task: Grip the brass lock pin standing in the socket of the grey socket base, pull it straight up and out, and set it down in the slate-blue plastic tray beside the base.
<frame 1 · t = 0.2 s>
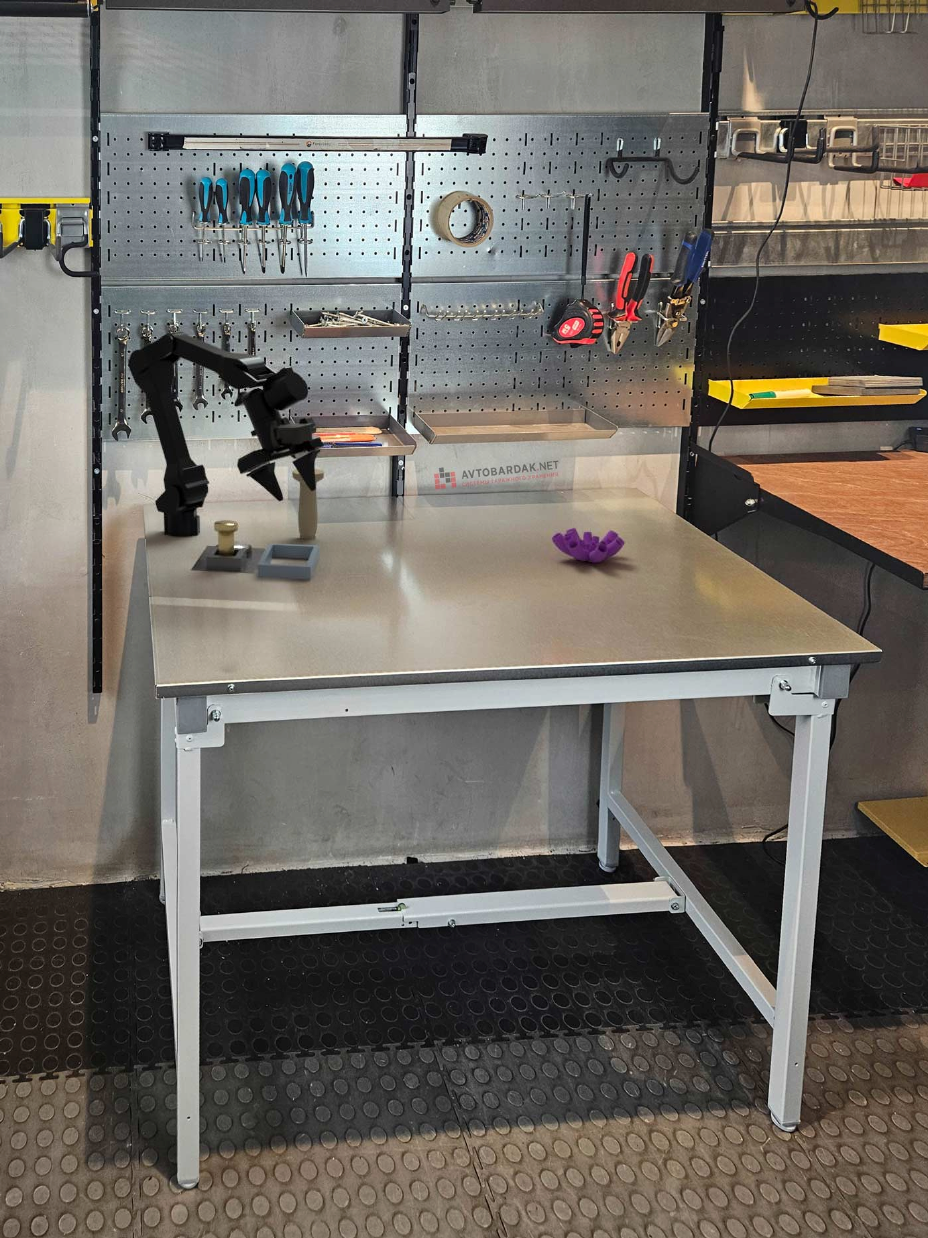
hand: (297, 495, 251), 15 cm above the workbench, fingers open, 9 cm apart
handle: (307, 542, 273), on the workbench
grey socket base: (229, 564, 256), on the workbench
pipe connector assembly: (586, 562, 270), on the workbench
pin tray: (289, 572, 253), on the workbench
lock pin: (226, 564, 252), point 1 cm above the workbench, touching grey socket base
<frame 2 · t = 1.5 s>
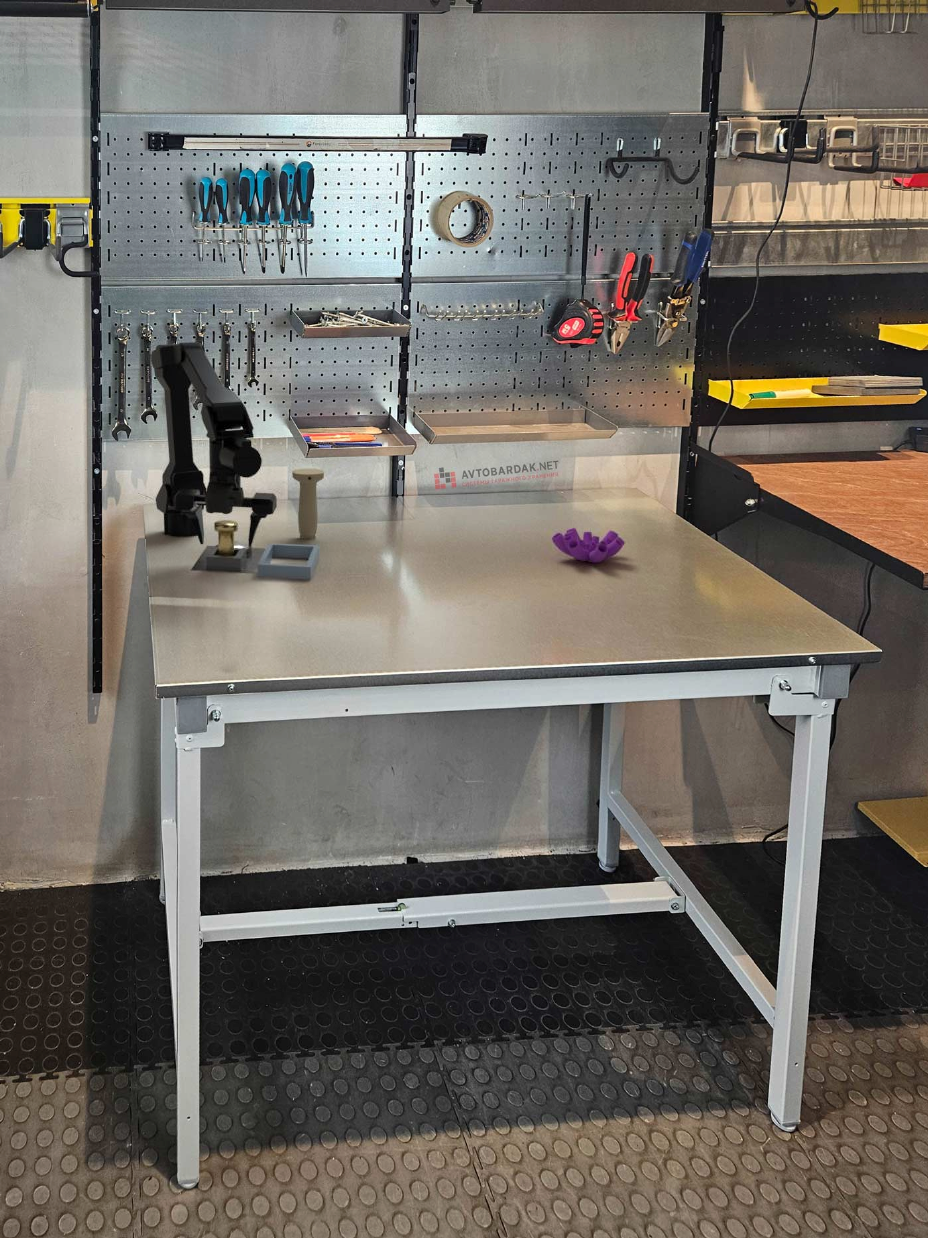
hand: (226, 545, 251), 5 cm above the workbench, fingers open, 9 cm apart
nothing on the workbench moved.
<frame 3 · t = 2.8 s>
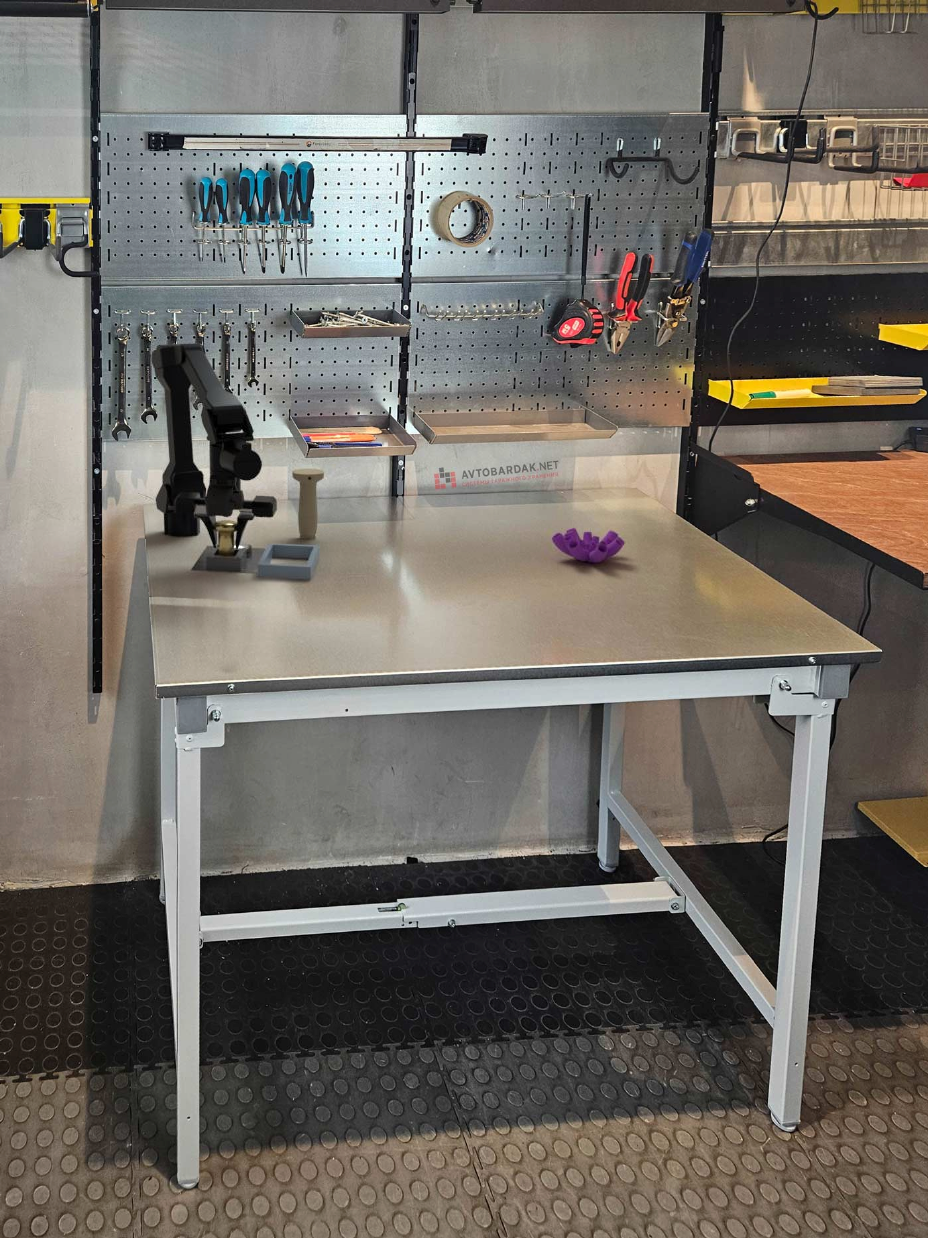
hand: (226, 547, 251), 5 cm above the workbench, fingers closed on lock pin, 4 cm apart
lock pin: (226, 564, 252), point 1 cm above the workbench, touching gripper, grey socket base
everything else where it was.
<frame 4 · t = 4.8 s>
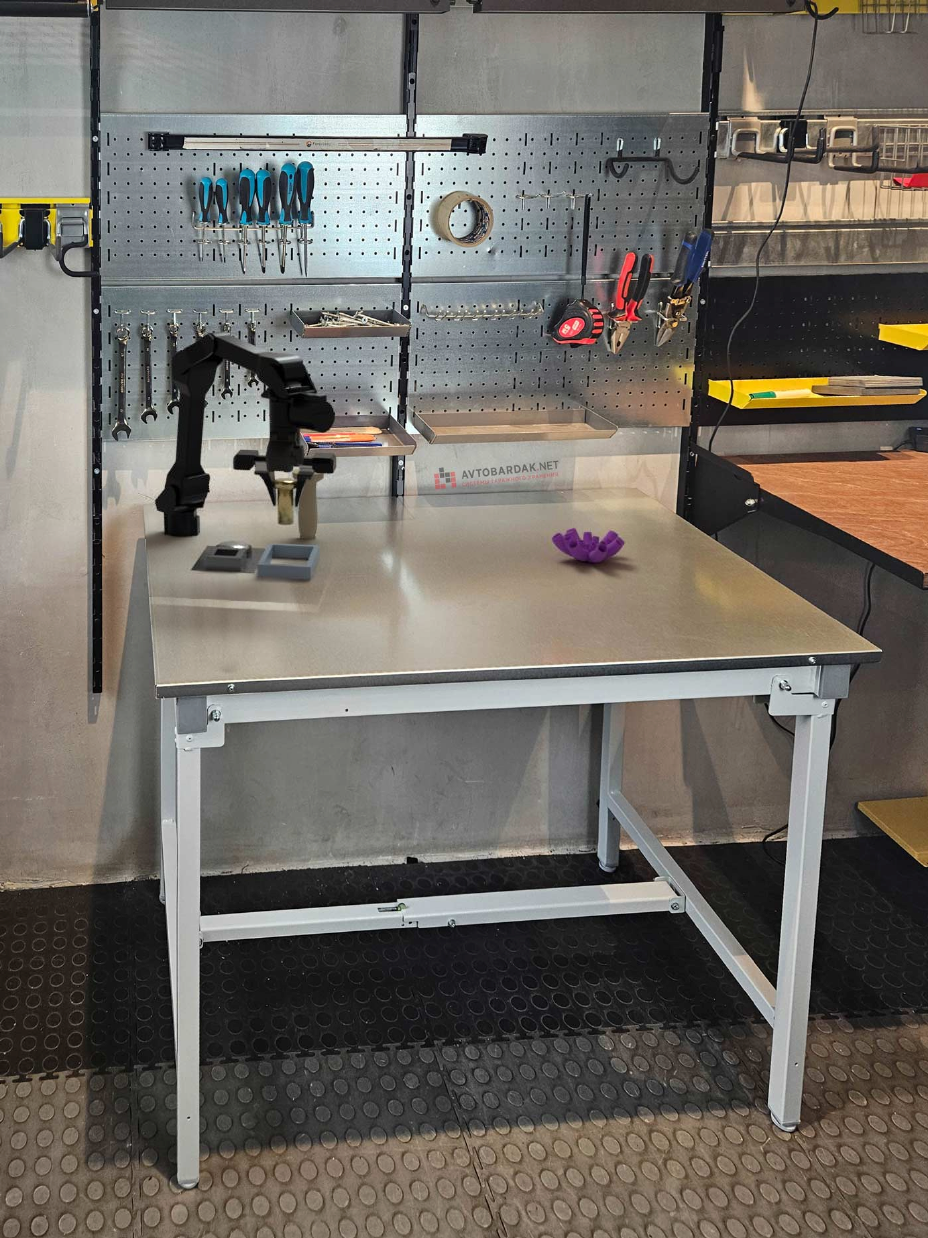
hand: (285, 506, 248), 13 cm above the workbench, fingers closed on lock pin, 4 cm apart
lock pin: (285, 522, 249), point 10 cm above the workbench, touching gripper
everything else where it was.
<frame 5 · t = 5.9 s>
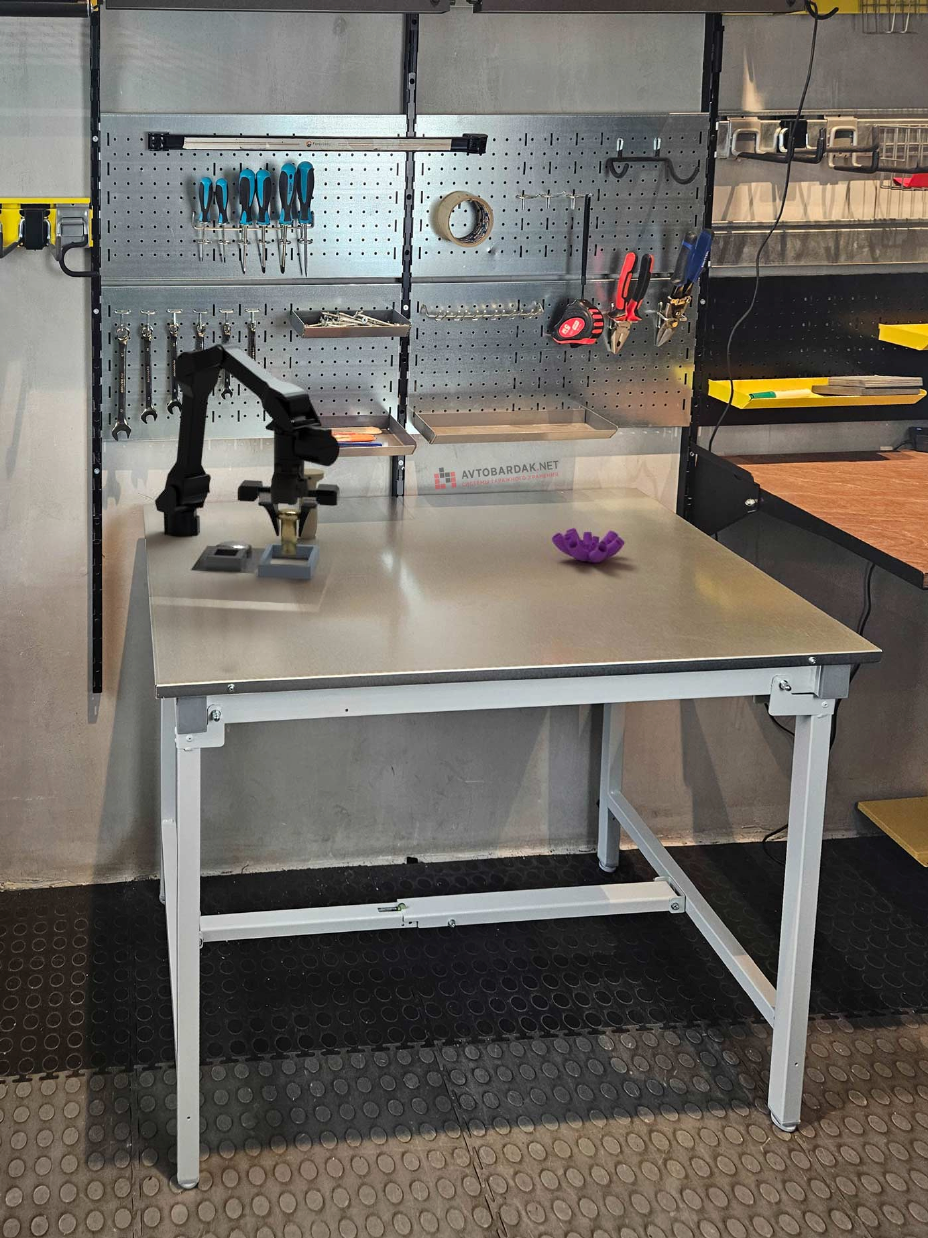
hand: (288, 536, 251), 7 cm above the workbench, fingers closed on lock pin, 4 cm apart
lock pin: (288, 552, 252), point 4 cm above the workbench, touching gripper
everything else where it was.
when the fingers open (6 cm above the workbench, at t = 6.9 s): lock pin drops 1 cm, resting on pin tray.
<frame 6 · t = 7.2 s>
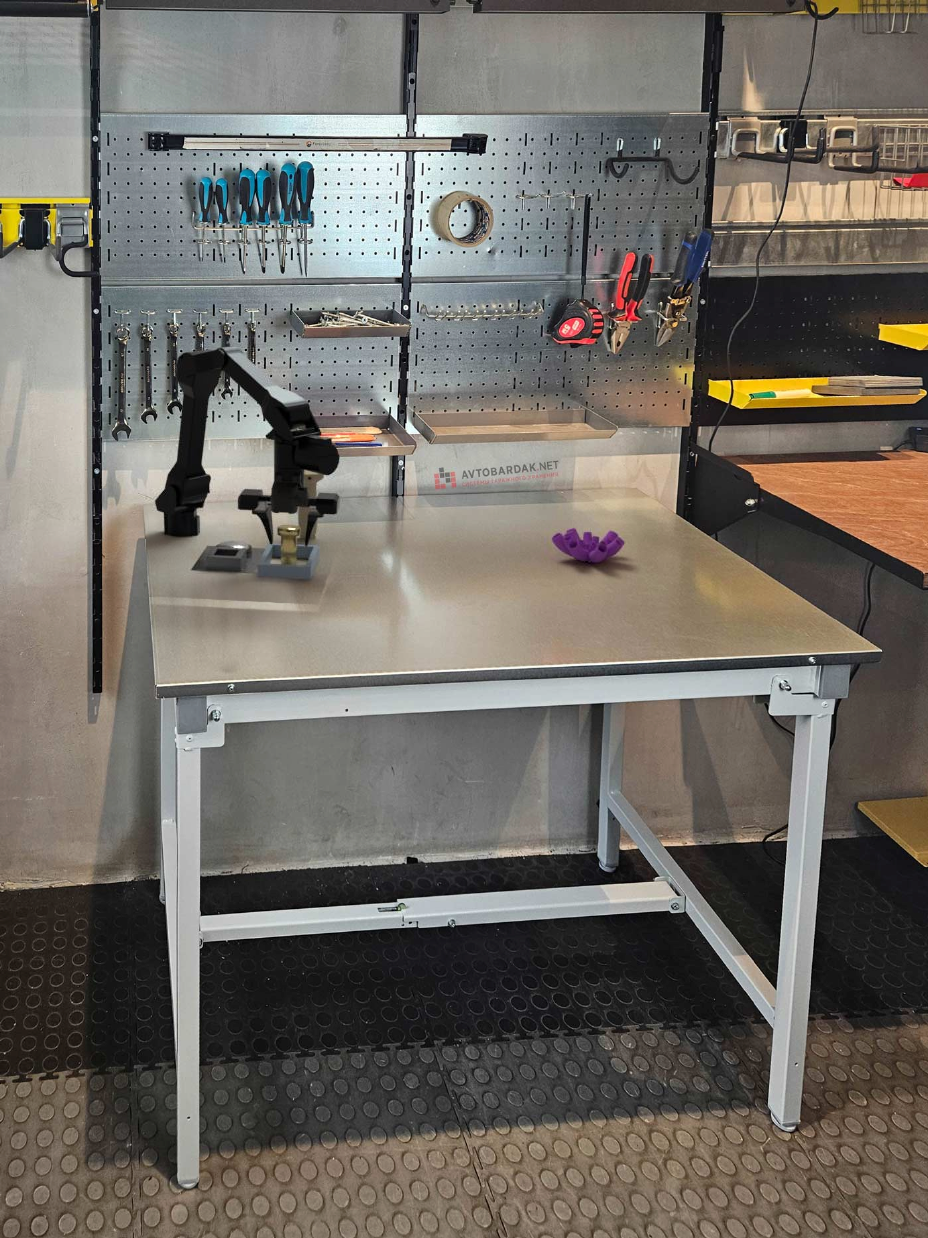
hand: (289, 544, 251), 6 cm above the workbench, fingers open, 6 cm apart
lock pin: (288, 568, 253), point 1 cm above the workbench, touching pin tray
everything else where it was.
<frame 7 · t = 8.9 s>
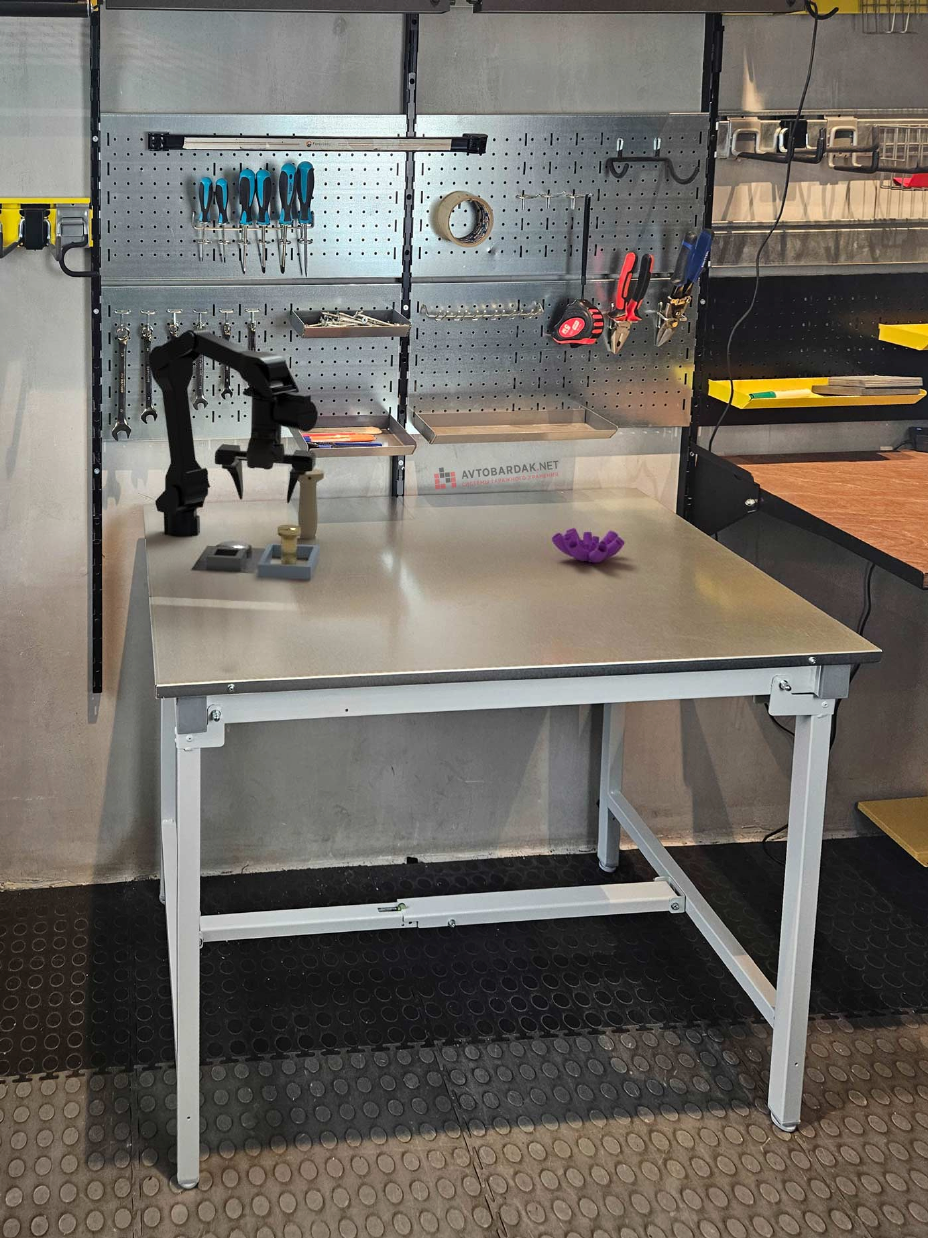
hand: (264, 500, 255), 12 cm above the workbench, fingers open, 9 cm apart
nothing on the workbench moved.
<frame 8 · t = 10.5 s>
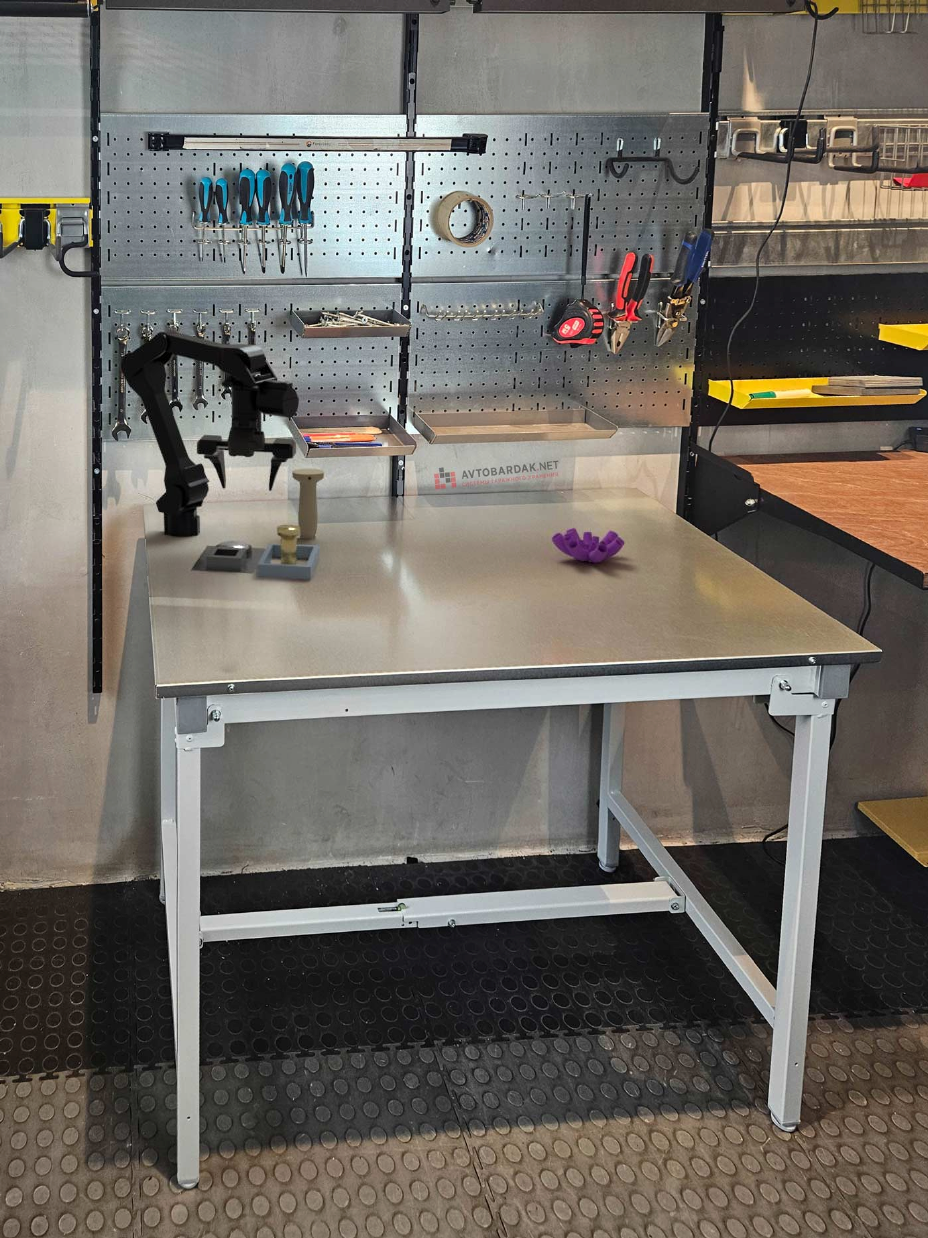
hand: (247, 489, 260), 13 cm above the workbench, fingers open, 9 cm apart
nothing on the workbench moved.
at the end: lock pin inside the target area on the pin tray (0.1 cm from its centre), point 0.8 cm above the pin tray's base; the gripper is holding nothing; lock pin moved 12.0 cm from its start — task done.
